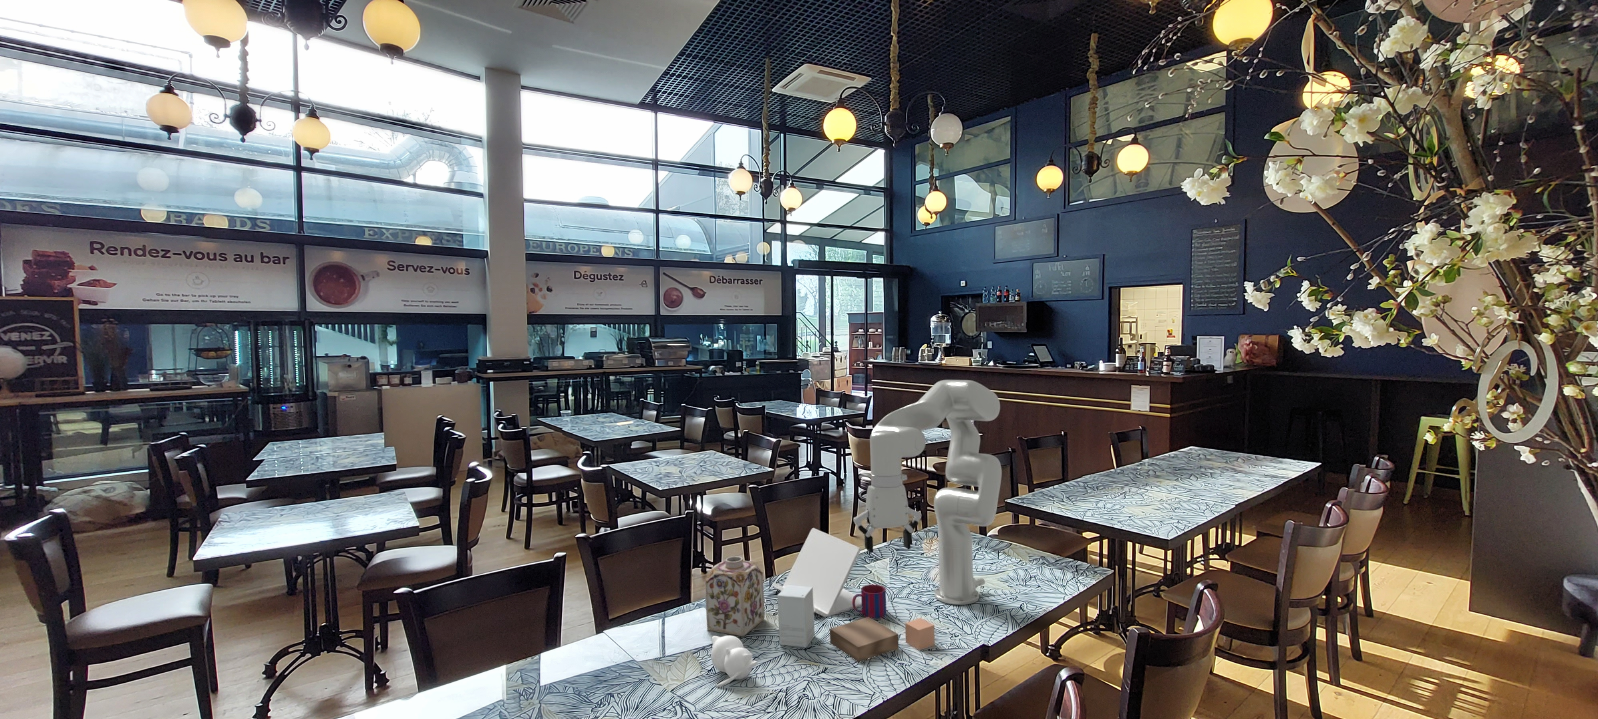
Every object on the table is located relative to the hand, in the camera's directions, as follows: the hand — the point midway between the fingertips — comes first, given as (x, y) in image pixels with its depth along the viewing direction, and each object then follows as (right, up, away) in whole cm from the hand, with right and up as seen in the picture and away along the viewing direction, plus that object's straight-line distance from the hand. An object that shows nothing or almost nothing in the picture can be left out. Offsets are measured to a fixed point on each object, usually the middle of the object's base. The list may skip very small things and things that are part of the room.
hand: (888, 549), depth 161 cm
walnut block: (-6, -24, -1) cm, 25 cm away
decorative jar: (-39, -24, +13) cm, 48 cm away
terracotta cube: (+8, -23, -1) cm, 24 cm away
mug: (-3, -23, +17) cm, 29 cm away
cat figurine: (-38, -25, -13) cm, 47 cm away
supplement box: (-23, -24, +3) cm, 33 cm away
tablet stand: (-16, -23, +30) cm, 42 cm away
